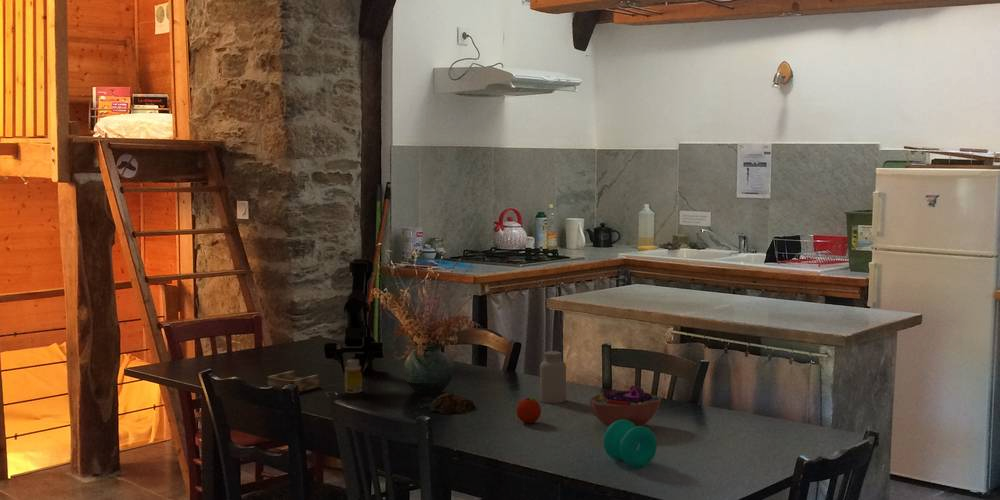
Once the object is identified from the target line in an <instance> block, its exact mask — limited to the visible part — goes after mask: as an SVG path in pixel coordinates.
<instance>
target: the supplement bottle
mask: <svg viewBox="0 0 1000 500" xmlns="http://www.w3.org/2000/svg"><path fill="white" fill-rule="evenodd" d="M361 368H362V367H361V366H360V365H359V360H358V359H351V358H350V359H347V360H346V365H344V373H343V375H344V380H343V381H344V383H343V384H344V392H345V393H347V394H359V393H361V392H362V391H363V373H362V372H361Z"/></svg>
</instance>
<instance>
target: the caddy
mask: <svg viewBox="0 0 1000 500" xmlns="http://www.w3.org/2000/svg"><path fill="white" fill-rule="evenodd" d="M288 384H294V385H298V387H299V391H300V392H299V393H301V392H305V391H309V390H312V389H315V388H316V387H317V388H320V374H318V373H317V374H313V375H309V376H304V377H299V376H298V377H297V376H296V370H290V371H289V370H288V371H285V372H281V373H276V374H273V375H268V376H265V387H266V386H280V387H282V386H285V385H288ZM317 388H316V389H317Z"/></svg>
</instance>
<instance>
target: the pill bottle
mask: <svg viewBox="0 0 1000 500" xmlns="http://www.w3.org/2000/svg"><path fill="white" fill-rule="evenodd" d="M543 359H544V360H543V361H541V363H540V364H539V400H540V402H541V403H543V404H544V403H545V404H550V405H551V404H554V405H555V404H562V403H565V402H566V400H567V365H566V363H565V362H564V361H563V360H562V352H561V351H557V350H556V351H555V350H550V351H545V352H543Z"/></svg>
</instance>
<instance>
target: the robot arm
mask: <svg viewBox="0 0 1000 500" xmlns="http://www.w3.org/2000/svg"><path fill="white" fill-rule="evenodd" d="M348 267H349V268H348V269H349V273H351V276H352V287H351V293H350V294H349V295H348V296H347V301H346V302H345V304H344V306H343V313H344V314H345V319H346V321H347V322H346V327H345V328H344V329H345V330H344V345H345V346H344V345H343V346H342V345H341V344H338V342H337V341H336V342H333V341H331V342H325V343H324V346H323V350H324V351H323V352H324V356H325V359H328V360H330V359H331V360H332V359H334V361H337V362H338V364H339V366H340V369H341V372H342V374H344V367H345V359H344V353H345V354H349V355H352V356H351V357H350V359H358V360H359V365H360V366H361V367H362V368H361V372H362V374H363V373H364V372H374V371H375V368H373V361H374V360H375V359H383V358H384V357H385V351H384V350H385V349H384V343H383V342H382V341H376V339H375V338H374V336H373V332H372V330H371V329H370V327H369V325H368V324H369V323H368V321H369V318H368V317H369V316H368V315H369V313H370V311H371V305H370V303H369V283H370V282H371V280H372V279H373V273H375V261H372V259H371V258H353V261H349V265H348Z"/></svg>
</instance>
